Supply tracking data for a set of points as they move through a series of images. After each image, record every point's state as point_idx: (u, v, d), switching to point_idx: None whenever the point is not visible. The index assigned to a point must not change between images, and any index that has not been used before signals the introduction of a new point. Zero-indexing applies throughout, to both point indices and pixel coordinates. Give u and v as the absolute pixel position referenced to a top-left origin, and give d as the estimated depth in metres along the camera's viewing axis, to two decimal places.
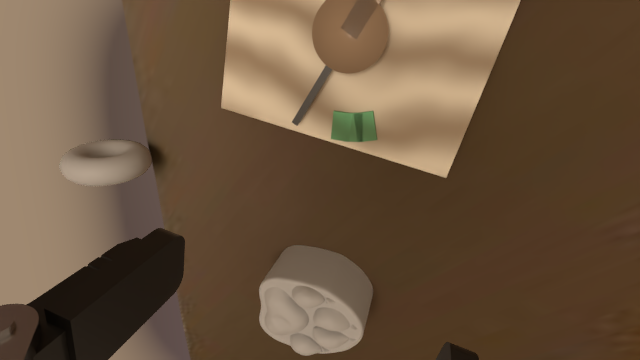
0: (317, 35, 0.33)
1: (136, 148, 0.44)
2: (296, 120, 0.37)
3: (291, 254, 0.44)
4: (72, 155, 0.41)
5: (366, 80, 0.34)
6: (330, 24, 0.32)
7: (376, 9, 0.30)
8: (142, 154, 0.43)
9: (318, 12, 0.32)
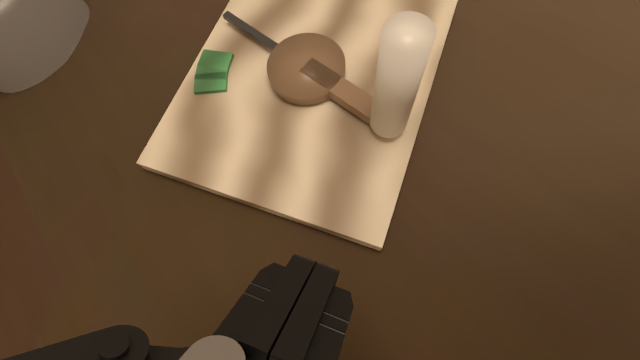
0: (308, 37, 0.32)
1: None
2: (228, 15, 0.34)
3: (74, 0, 0.37)
4: None
5: (259, 86, 0.32)
6: (317, 49, 0.31)
7: (324, 88, 0.30)
8: None
9: (329, 39, 0.32)
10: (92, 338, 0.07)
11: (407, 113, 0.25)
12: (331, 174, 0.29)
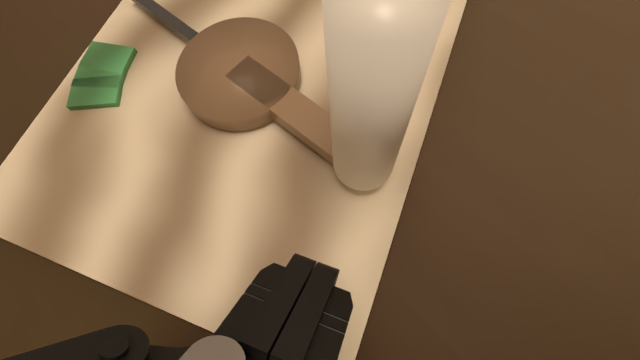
0: (244, 24, 0.21)
1: None
2: None
3: None
4: None
5: (169, 98, 0.21)
6: (256, 42, 0.20)
7: (261, 105, 0.18)
8: None
9: (277, 27, 0.20)
10: (92, 338, 0.07)
11: (391, 156, 0.14)
12: (268, 249, 0.17)
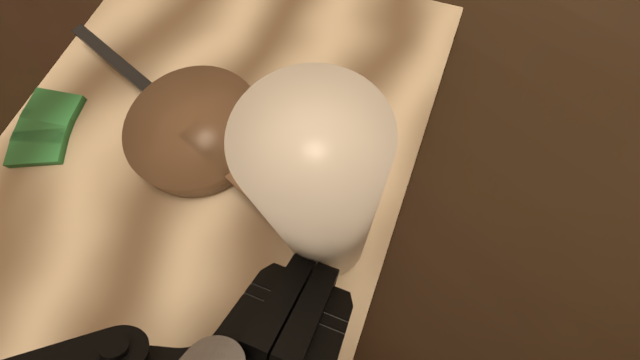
0: (202, 74, 0.18)
1: None
2: (80, 30, 0.20)
3: None
4: None
5: (118, 155, 0.19)
6: (215, 95, 0.18)
7: (216, 172, 0.16)
8: None
9: (238, 78, 0.18)
10: (91, 338, 0.07)
11: (353, 257, 0.12)
12: None
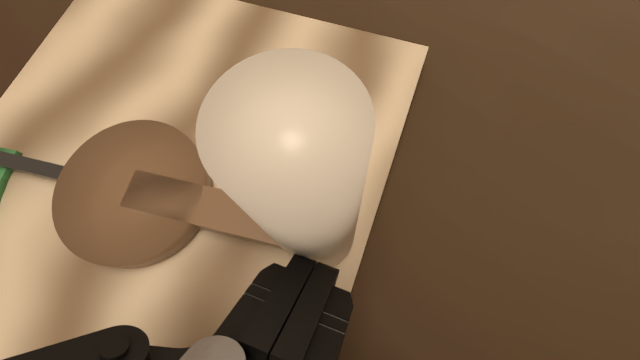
0: (115, 134, 0.17)
1: None
2: None
3: None
4: None
5: None
6: (139, 150, 0.17)
7: (178, 222, 0.15)
8: None
9: (155, 123, 0.17)
10: (92, 338, 0.07)
11: (353, 234, 0.12)
12: None
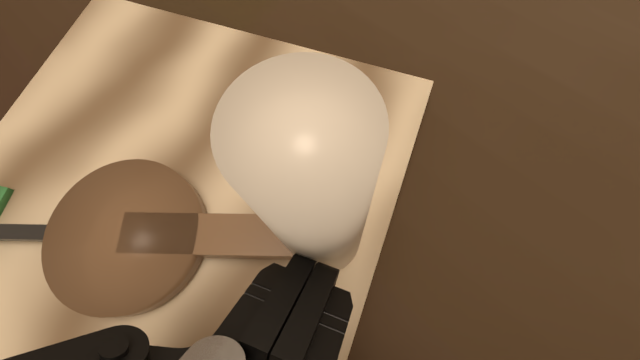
0: (95, 181, 0.16)
1: None
2: None
3: None
4: None
5: None
6: (124, 191, 0.16)
7: (181, 256, 0.15)
8: None
9: (135, 161, 0.16)
10: (92, 337, 0.07)
11: None
12: None
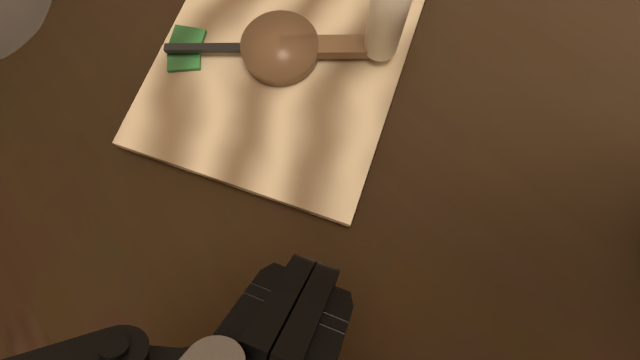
0: (260, 20, 0.32)
1: None
2: (169, 46, 0.31)
3: None
4: None
5: (233, 64, 0.32)
6: (277, 25, 0.31)
7: (312, 53, 0.31)
8: None
9: (280, 11, 0.32)
10: (92, 337, 0.07)
11: (404, 25, 0.28)
12: (304, 156, 0.30)
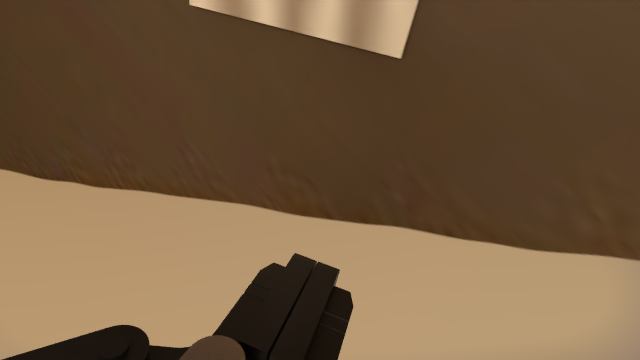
0: None
1: None
2: None
3: None
4: None
5: None
6: None
7: None
8: None
9: None
10: (92, 337, 0.07)
11: None
12: None
